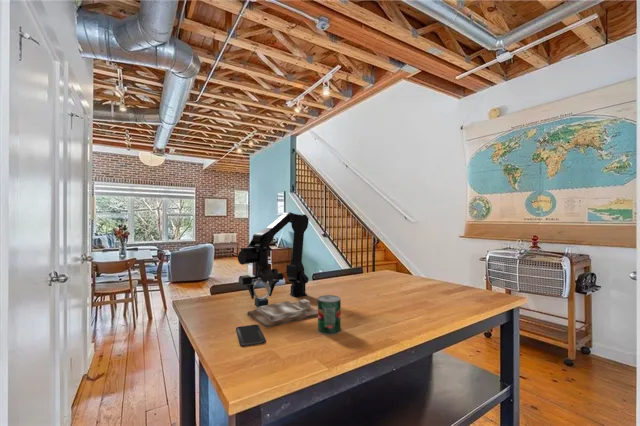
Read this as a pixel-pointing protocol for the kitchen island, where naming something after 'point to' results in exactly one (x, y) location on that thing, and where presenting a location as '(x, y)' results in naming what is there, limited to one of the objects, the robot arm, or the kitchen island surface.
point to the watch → (262, 300)
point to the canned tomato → (329, 314)
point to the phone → (250, 335)
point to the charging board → (283, 313)
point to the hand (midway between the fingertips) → (261, 297)
